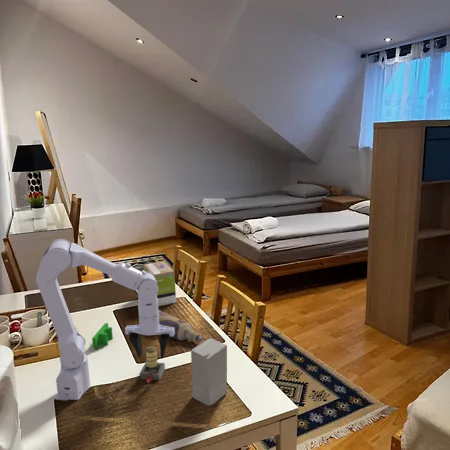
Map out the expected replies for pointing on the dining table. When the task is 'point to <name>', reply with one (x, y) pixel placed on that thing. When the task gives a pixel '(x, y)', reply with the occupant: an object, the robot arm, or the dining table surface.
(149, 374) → the stand base
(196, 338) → the decorative bottle
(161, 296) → the tea box
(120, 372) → the dining table surface
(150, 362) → the small wooden barrel
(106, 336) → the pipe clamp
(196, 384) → the skincare box
